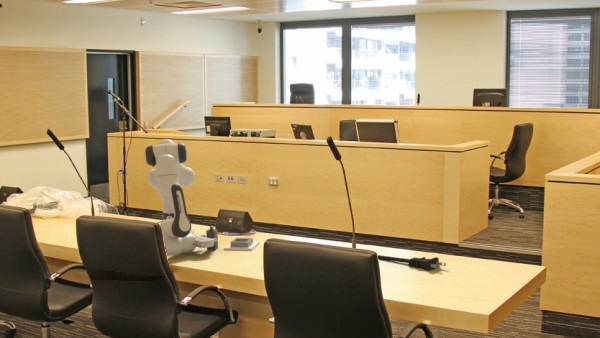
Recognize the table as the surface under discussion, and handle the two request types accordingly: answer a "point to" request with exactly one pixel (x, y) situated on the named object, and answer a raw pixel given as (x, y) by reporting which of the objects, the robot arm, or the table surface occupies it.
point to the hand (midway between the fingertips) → (210, 237)
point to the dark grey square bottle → (212, 234)
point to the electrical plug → (417, 262)
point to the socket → (241, 244)
